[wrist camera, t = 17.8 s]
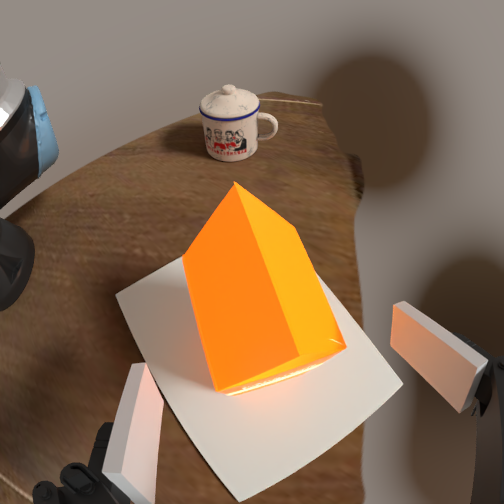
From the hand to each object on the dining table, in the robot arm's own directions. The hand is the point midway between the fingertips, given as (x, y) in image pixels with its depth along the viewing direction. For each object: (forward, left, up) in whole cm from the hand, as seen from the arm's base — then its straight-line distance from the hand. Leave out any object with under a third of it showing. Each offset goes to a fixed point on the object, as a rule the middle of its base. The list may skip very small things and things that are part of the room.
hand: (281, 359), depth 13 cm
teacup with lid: (-32, +17, -17) cm, 40 cm away
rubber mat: (-4, +1, -16) cm, 17 cm away
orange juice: (-4, +1, -16) cm, 17 cm away
